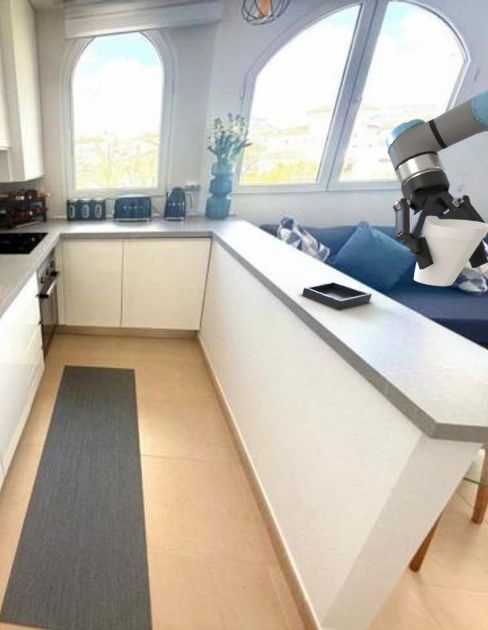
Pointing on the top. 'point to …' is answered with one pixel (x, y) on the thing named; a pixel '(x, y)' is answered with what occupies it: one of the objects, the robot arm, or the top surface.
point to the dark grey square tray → (336, 295)
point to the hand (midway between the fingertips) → (453, 265)
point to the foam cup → (449, 249)
